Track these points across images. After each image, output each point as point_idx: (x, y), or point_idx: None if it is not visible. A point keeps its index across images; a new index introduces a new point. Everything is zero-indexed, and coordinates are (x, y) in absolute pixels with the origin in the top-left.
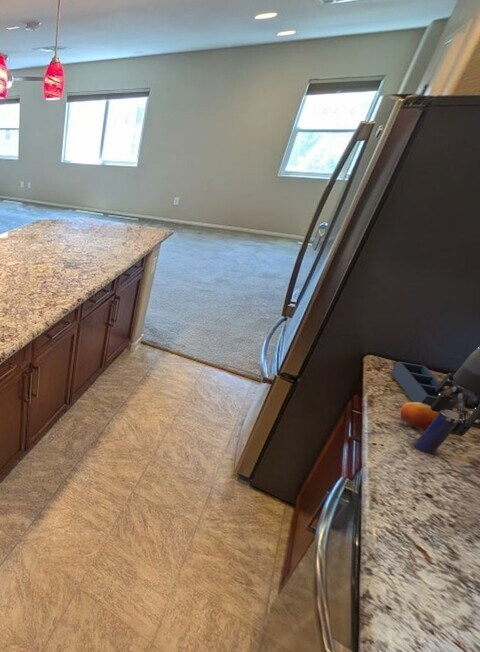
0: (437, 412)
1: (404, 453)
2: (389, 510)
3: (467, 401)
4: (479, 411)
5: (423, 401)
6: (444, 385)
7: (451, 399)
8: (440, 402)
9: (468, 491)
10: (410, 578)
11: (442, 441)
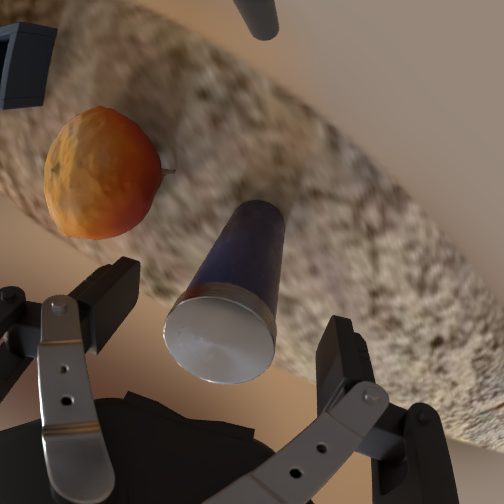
0: (95, 177)
1: (293, 304)
2: (446, 416)
3: None
4: None
5: (21, 105)
6: (5, 390)
7: (80, 324)
8: (105, 332)
9: (437, 233)
10: None
11: (280, 246)
